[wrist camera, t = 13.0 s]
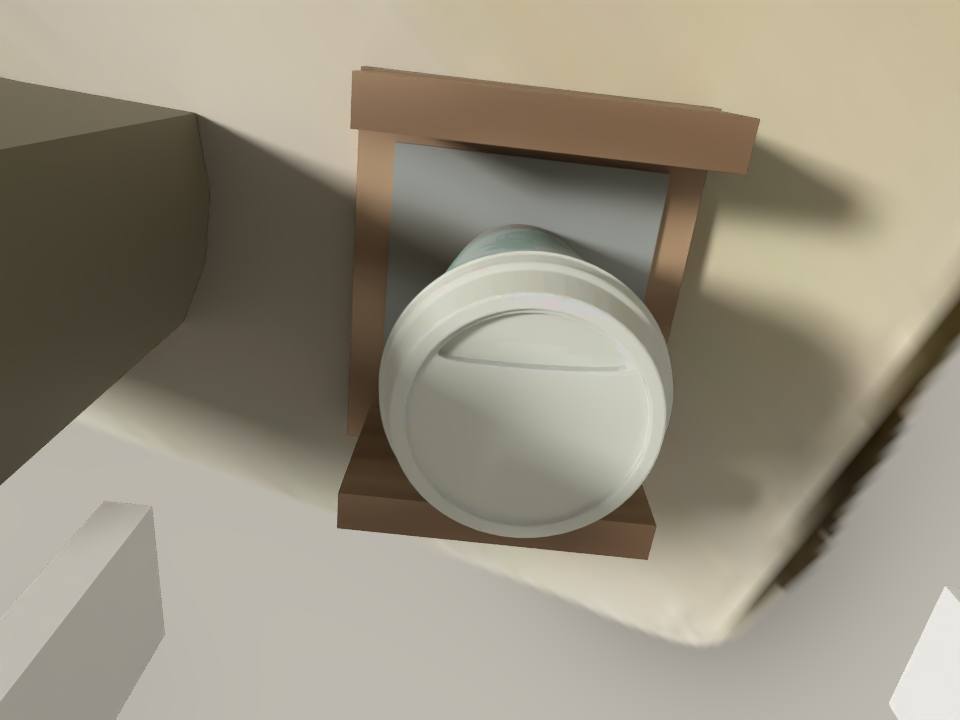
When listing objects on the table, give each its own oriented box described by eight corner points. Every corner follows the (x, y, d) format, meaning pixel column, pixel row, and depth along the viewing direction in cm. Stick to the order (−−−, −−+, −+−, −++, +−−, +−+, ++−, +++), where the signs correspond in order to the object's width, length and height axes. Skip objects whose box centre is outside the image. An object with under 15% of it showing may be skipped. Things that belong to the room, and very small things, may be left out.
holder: (366, 66, 27) (317, 66, 20) (712, 107, 28) (793, 123, 20) (352, 422, 34) (310, 525, 26) (634, 452, 34) (673, 562, 27)
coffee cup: (658, 270, 29) (757, 396, 18) (533, 415, 32) (552, 601, 21) (494, 145, 27) (493, 199, 16) (377, 310, 30) (308, 453, 19)
